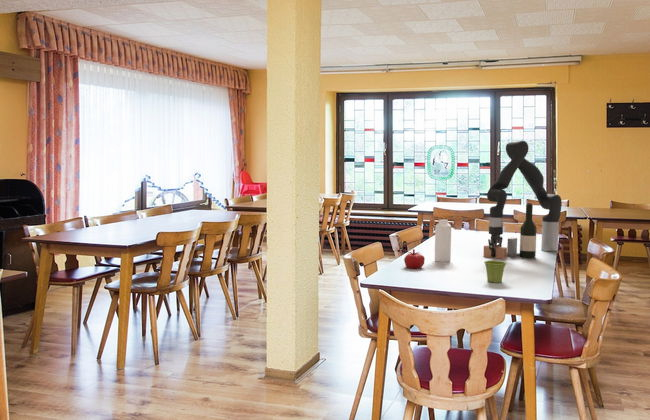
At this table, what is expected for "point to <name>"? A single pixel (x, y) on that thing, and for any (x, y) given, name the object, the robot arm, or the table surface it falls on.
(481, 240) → the table surface
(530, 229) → the wine bottle
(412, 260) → the red apple
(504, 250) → the rectangular block
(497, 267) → the plant pot
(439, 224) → the milk
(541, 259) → the table surface
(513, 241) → the stand
